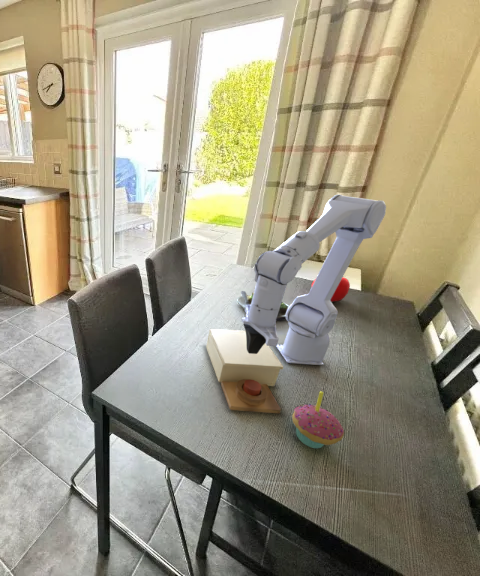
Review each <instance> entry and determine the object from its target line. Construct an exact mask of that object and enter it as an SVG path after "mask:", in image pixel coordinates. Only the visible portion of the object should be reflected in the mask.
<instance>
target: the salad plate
mask: <svg viewBox="0 0 480 576" xmlns="http://www.w3.org/2000/svg"><path fill="white" fill-rule="evenodd" d="M253 295H254V292H251V294H247V292H246V291H245V290H241V291H240V296H238V297H237V299H236V302H237V304H238V305H239V306H240V307H242V308H243V309H244V310H245V307H246V305H251V302H252V298H253ZM289 306H290V305H288V304H287V303H285V302H284V301H282V302H281V305H280V309H279V312H278V315H277V318H276V321H284V320H286V316H285V315H286V311H287V309H288V308H289Z"/></svg>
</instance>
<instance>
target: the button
mask: <svg viewBox="0 0 480 576" xmlns="http://www.w3.org/2000/svg"><path fill="white" fill-rule="evenodd" d="M243 390H244V391H245V392H246V393H247V394H249V395H252V396H257V395H259V394H260V391H261V385H260V384H259V383H258V382H257V381H255V380H251V379H248V380H246V381H245V382H244V386H243Z"/></svg>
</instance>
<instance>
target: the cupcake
mask: <svg viewBox="0 0 480 576" xmlns="http://www.w3.org/2000/svg"><path fill="white" fill-rule="evenodd" d="M323 389H324V388H323V387H321V389H320V391H319V392H318V396H317V401H316V404H315V405H314V404H311V403H305V404H304V403H303V404H300V405H297V406H296V407H294V409H293V410H294V411H293V413H292V416H291V417H292V423H293V425H294V426H295V434H296V437H297V438H298V440H299V441H301V443H302V444H304V445H305V446H307V447H309V448H311V449H312V448H313V449H321V448H322V447H324V446H331V445H335V444H337V443H338V442H341V441H342V439H344V436H345V430H344V426H343V424H341V422H340V421H339V419H338V418H337V417H336V416H335V415H334V413H332V412H330V411H329V410H328V409H325V408H323V407H321V405H322V402H323V397H324V391H323Z"/></svg>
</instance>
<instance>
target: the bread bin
mask: <svg viewBox="0 0 480 576" xmlns="http://www.w3.org/2000/svg"><path fill="white" fill-rule="evenodd" d="M205 348H206V351H207V354H208V357H209V359H210V362H211V364H212V367H213V370H214V372H215V376H216V379H217V381H218V383H221V382H222V381H226V382H238V381H240V380H242V379H251V380H255V381H257V382H258V383H259V384H267V385H268V387H275V385H276V382H277V380H278V377H279V374H280V371H281V369H269V368H253V367H238V366H224V363H223V361H222V359H221V357H220V354H219V352H218V350H217V347H216V345H215V343H214V340H213V338H212V336H211V334H210V331H208V336H207V340H206V345H205Z"/></svg>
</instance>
